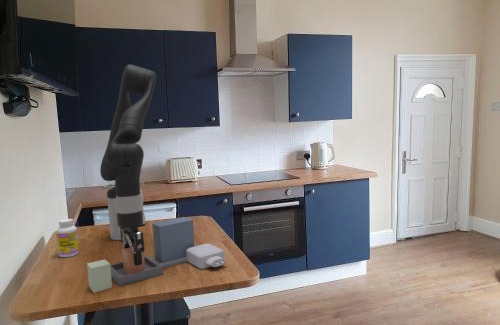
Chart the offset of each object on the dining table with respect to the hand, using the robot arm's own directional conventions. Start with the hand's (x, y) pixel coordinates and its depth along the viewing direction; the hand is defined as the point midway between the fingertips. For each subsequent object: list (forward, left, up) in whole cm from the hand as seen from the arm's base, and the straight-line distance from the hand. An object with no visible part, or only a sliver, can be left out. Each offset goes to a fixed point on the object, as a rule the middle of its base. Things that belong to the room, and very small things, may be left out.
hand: (133, 261), depth 115 cm
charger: (+10, +21, -4) cm, 24 cm away
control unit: (-3, +15, -4) cm, 16 cm away
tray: (0, 0, -4) cm, 4 cm away
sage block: (+3, -11, -4) cm, 12 cm away
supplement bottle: (-35, -12, -4) cm, 37 cm away
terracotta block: (0, 0, -3) cm, 3 cm away
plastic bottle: (-57, +22, -4) cm, 61 cm away
